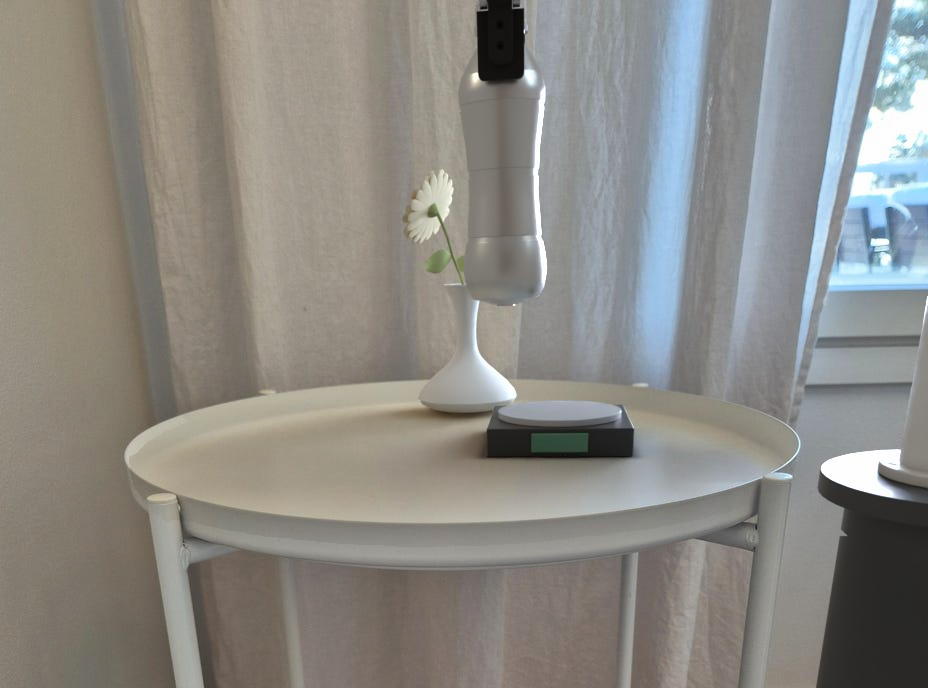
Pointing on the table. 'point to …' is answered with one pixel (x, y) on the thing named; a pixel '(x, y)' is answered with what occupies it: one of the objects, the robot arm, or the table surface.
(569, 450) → the scale
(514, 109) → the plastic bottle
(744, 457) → the table surface
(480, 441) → the table surface
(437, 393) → the flower in vase
